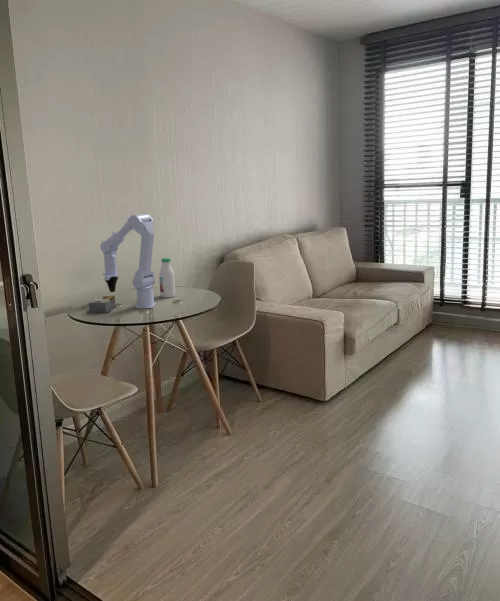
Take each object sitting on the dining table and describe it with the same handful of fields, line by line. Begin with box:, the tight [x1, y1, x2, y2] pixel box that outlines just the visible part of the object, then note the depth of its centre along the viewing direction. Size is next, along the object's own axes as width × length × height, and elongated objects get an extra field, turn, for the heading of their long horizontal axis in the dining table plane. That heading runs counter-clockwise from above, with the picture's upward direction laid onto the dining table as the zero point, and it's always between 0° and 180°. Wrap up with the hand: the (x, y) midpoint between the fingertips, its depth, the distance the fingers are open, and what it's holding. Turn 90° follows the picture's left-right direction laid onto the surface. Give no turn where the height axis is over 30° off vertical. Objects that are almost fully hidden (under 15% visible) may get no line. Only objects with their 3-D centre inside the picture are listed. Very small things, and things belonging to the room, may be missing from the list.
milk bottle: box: [158, 257, 176, 298], centre depth 280 cm, size 8×8×20 cm
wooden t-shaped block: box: [101, 295, 116, 305], centre depth 261 cm, size 10×6×4 cm, turn 176°
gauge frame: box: [86, 298, 117, 314], centre depth 255 cm, size 12×10×5 cm
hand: (112, 291), depth 271 cm, fingers closed
